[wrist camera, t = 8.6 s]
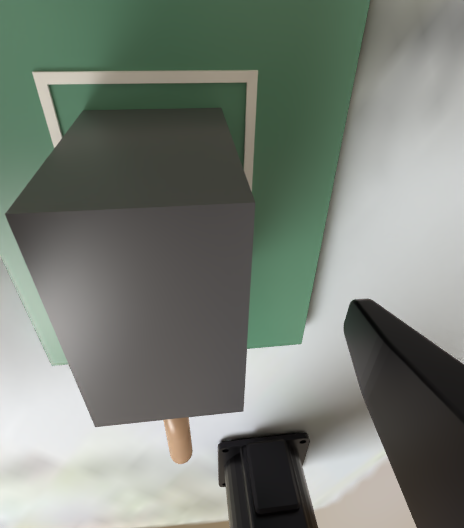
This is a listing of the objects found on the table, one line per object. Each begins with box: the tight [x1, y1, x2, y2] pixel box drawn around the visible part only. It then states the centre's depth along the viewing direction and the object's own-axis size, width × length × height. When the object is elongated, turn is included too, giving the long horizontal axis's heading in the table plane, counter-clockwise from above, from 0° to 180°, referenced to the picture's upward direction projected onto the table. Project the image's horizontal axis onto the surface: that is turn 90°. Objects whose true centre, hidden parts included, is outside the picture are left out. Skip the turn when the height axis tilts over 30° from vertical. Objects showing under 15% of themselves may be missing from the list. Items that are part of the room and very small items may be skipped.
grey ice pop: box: [5, 108, 255, 464], centre depth 12 cm, size 11×4×6 cm, turn 179°
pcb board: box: [0, 0, 370, 366], centre depth 12 cm, size 16×12×4 cm
